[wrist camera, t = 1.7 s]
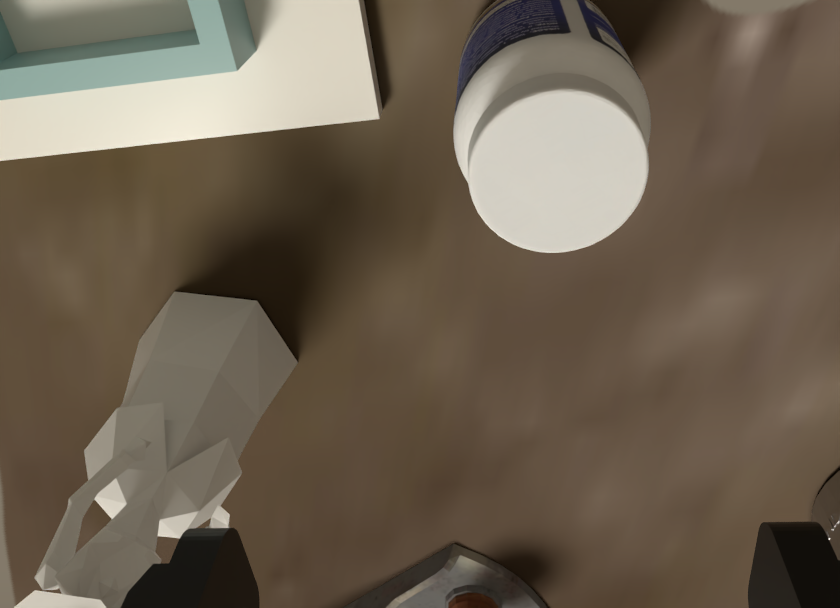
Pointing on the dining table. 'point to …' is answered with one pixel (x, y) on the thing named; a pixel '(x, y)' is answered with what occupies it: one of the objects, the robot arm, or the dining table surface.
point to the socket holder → (177, 71)
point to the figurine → (167, 445)
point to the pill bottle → (550, 124)
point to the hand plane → (453, 585)
